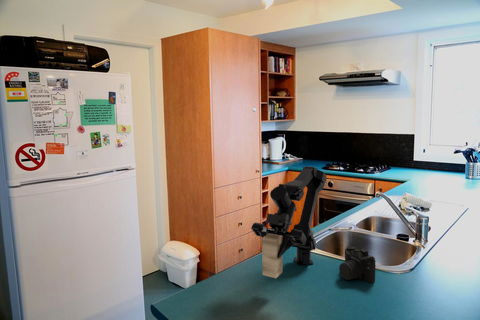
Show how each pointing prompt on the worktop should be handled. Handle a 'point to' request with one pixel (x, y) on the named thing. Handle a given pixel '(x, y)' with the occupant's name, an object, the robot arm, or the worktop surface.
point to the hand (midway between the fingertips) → (270, 256)
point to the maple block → (271, 255)
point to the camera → (358, 265)
